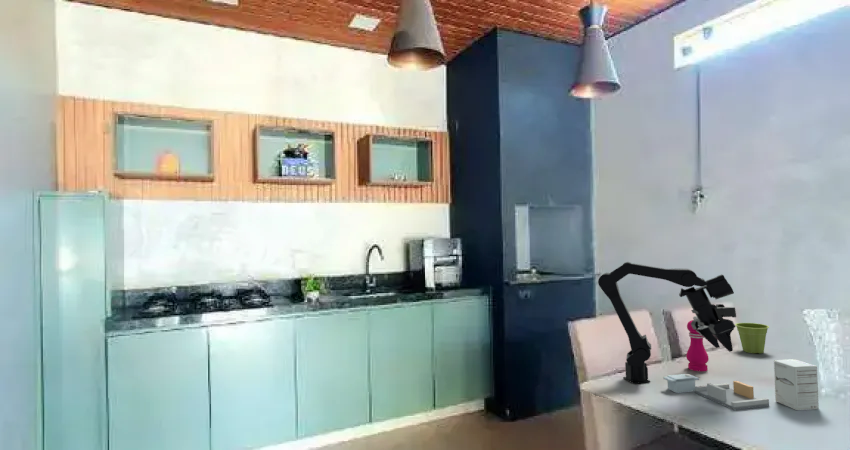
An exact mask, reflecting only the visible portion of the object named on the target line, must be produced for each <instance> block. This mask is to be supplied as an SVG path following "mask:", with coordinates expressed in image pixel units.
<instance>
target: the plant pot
mask: <svg viewBox="0 0 850 450" xmlns="http://www.w3.org/2000/svg"><path fill="white" fill-rule="evenodd" d="M734 325H735V327H736V330H737V332H738V335H739V339H740V344H741V348H742V351H743V352H745V353H748V354H749V353H750V354H764V353H765V346H766V339H767V333H768V329H770V326H769V325H767V324H763V323H755V322H738V323H734Z"/></svg>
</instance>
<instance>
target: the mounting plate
mask: <svg viewBox="0 0 850 450" xmlns="http://www.w3.org/2000/svg"><path fill="white" fill-rule="evenodd" d="M732 384H733V388H730V384H729V383H717V384H714V383H711V382H710V383H706V385H697V386H696V385H695V391H694V393H695V394H697V395H698V396H701V397H704V398H706V399H709V400H711V401H713V402H715V403H717V404H719V403H720V405H722V406H724V407H727V408H728V409H731V410H733V411H737V410H744V409H756V408H763V407H764V408H767V407H770V399H769V398H767V397H764V398H756V397H754V386H752V385H750V384H747V383H744V382H741V381H738V380H733V383H732Z"/></svg>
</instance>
